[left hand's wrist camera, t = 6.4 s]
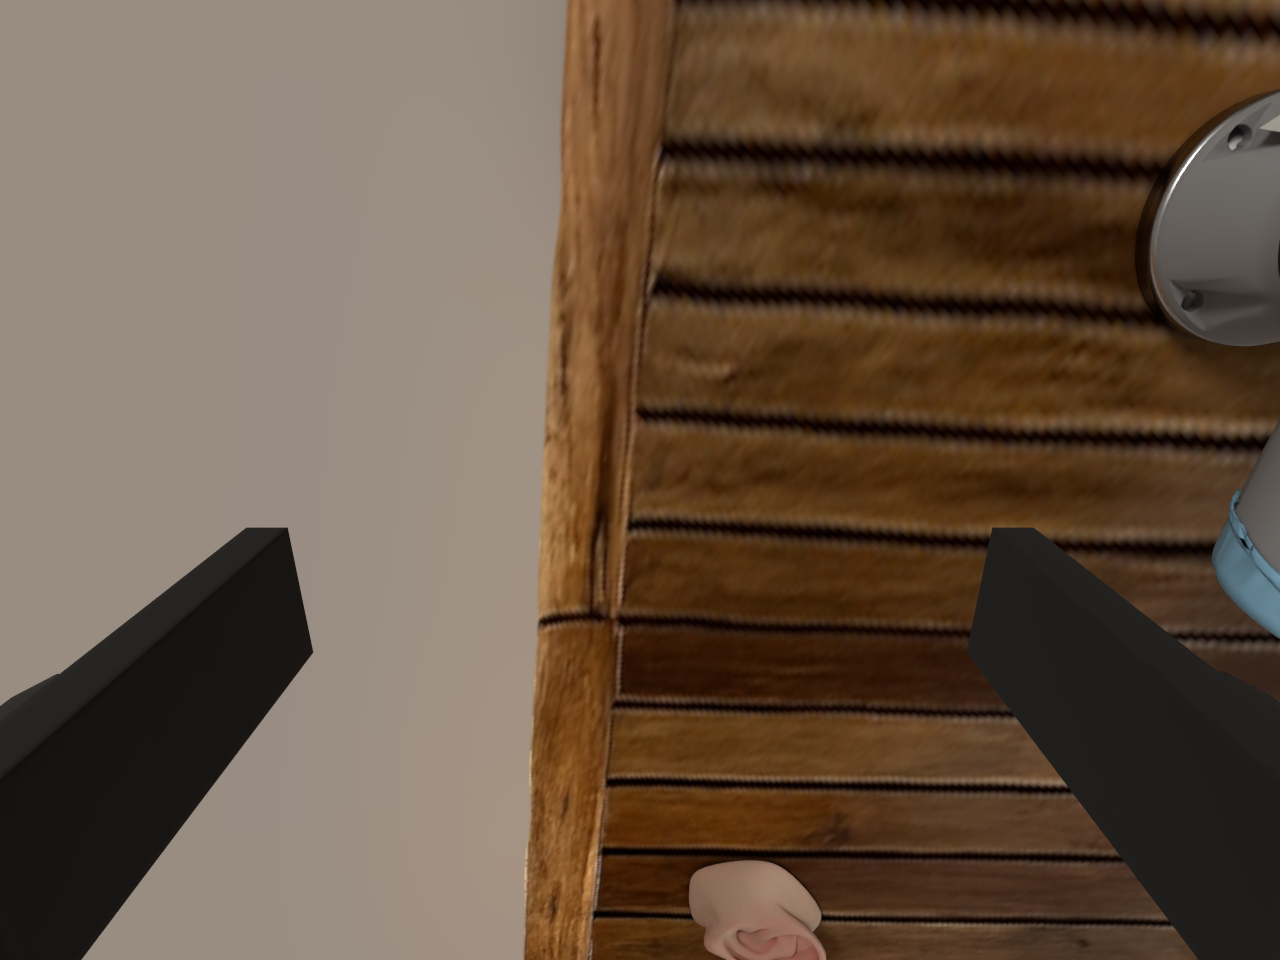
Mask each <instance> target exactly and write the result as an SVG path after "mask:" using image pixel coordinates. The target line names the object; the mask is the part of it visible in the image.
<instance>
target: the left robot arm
mask: <svg viewBox="0 0 1280 960" xmlns="http://www.w3.org/2000/svg"><path fill="white" fill-rule="evenodd" d="M1135 259H1136V270H1137V275H1138V280H1139V283H1140V286H1141V289H1142V292H1143V294H1144V296H1145V298H1146V300H1147V302H1148V304H1149V305H1150V307H1151V308H1152V310H1153V311H1154V312H1155V313H1156V315H1157V316H1158V317H1159V318H1160V319H1161V320H1162V321H1164V322H1165V323H1166V324H1167V325H1169V326H1170V327H1171V328H1173V329H1175V330H1177V331H1178V332H1180V333H1182V334H1185V335H1187V336H1190V337H1193V338H1197V339H1200V340H1205V341H1210V342H1214V343H1219V344H1225V345H1231V346H1256V345H1263V344H1268V343H1274V342H1280V89H1278V90H1273V91H1269V92H1265V93H1262V94H1258V95H1256V96H1253V97H1250V98H1248V99H1245V100H1243V101H1241V102H1239V103H1237V104H1235V105H1233V106H1231V107H1229V108H1228V109H1226V110H1224V111H1222V112H1221V113H1219V114H1218V115H1217V116H1215V117H1214V118H1212V119H1211V120H1209V121H1208V122H1207V123H1206V124H1204V125H1203V126H1202V127H1201V128H1199V129H1198V130H1197V131H1196V132H1195V133H1194V134H1193V135H1192V136H1191V137H1190V138H1189V139H1188V140H1187V141H1186V142H1185V143H1184V144H1183V145H1182V146H1181V147H1180V148H1179V149H1178V150H1177V152H1176V153H1175V154H1174V155H1173V157H1172V158H1171V159H1170V160H1169V162H1168V163H1167V165H1166V166H1165V168H1164V169H1163V171H1162V172H1161V174H1160V175H1159V177H1158V179H1157V180H1156V182H1155V184H1154V186H1153V188H1152V190H1151V192H1150V194H1149V196H1148V198H1147V201H1146V204H1145V206H1144V209H1143V212H1142V215H1141V219H1140V222H1139V227H1138V232H1137V239H1136V256H1135ZM1212 563H1213V566H1214V569H1215V571H1216V578H1217V580H1218V582H1219V584H1220V585H1221V587H1222V588H1223V589H1224V591H1225V592H1226V594H1227V595H1228V596H1229V597H1230V598H1231V599H1232V600H1233V601H1234V602H1235V603H1236V605H1237V606H1239V607H1240V608H1241V609H1242V610H1243V611H1244V612H1245V613H1246V614H1247V615H1249V616H1250V617H1251V618H1252V619H1253V620H1255V621H1256V622H1257V623H1259V624H1260V625H1261V626H1262V627H1264V628H1265V629H1267V630H1268V631H1269V632H1271V633H1272V634H1274V635H1275V636H1277V637H1278V638H1280V419H1279V421H1278V423H1277V425H1276V427H1275V429H1274V431H1273V432H1272V434H1271V436H1270V438H1269V440H1268V442H1267V444H1266V445H1265V447H1264V449H1263V451H1262V453H1261V455H1260V457H1259V458H1258V460H1257V462H1256V464H1255V466H1254V468H1253V470H1252V471H1251V473H1250V475H1249V477H1248V479H1247V481H1246V483H1245V485H1244V486H1243V488H1242V489H1241V490H1238V491H1236V493H1235V494H1234V496H1233V497H1232V499H1231V502H1230V505H1229V516H1228V518H1227V520H1226V523H1225V525H1224V527H1223V529H1222V531H1221V533H1220V535H1219V538H1218V540H1217V542H1216V544H1215V546H1214V549H1213V554H1212ZM312 653H313V649H312V644H311V639H310V634H309V630H308V625H307V620H306V615H305V610H304V605H303V600H302V596H301V591H300V586H299V581H298V576H297V571H296V566H295V561H294V557H293V552H292V547H291V542H290V537H289V532H288V528H245V529H244V530H243V531H242V532H240V533H239V534H238V535H237V536H235V537H234V538H233V539H231V540H230V541H229V542H228V543H226V544H225V545H224V546H222V547H221V548H220V549H219V550H217V551H216V552H215V553H214V554H212V555H211V556H210V557H209V558H207V559H206V560H205V561H203V562H202V563H201V564H200V565H198V566H197V567H196V568H194V569H193V570H192V571H191V572H189V573H188V574H187V575H185V576H184V577H183V578H182V579H180V580H179V581H178V582H177V583H175V584H174V585H173V586H171V587H170V588H169V589H168V590H166V591H165V592H164V593H162V594H161V595H160V596H159V597H157V598H156V599H155V600H154V601H152V602H151V603H150V604H149V605H147V606H146V607H145V608H143V609H142V610H141V611H140V612H138V613H137V614H136V615H134V616H133V617H132V618H131V619H129V620H128V621H127V622H125V623H124V624H123V625H122V626H120V627H119V628H118V629H117V630H115V631H114V632H113V633H111V634H110V635H109V636H108V637H106V638H105V639H104V640H103V641H101V642H100V643H99V644H97V645H96V646H95V647H94V648H92V649H91V650H90V651H88V652H87V653H86V654H85V655H83V656H82V657H81V658H80V659H78V660H77V661H76V662H74V663H73V664H72V665H71V666H69V667H68V668H67V669H66V670H64V671H63V672H62V673H60V674H56V675H54V676H52V677H50V678H48V679H46V680H44V681H42V682H41V683H39V684H37V685H35V686H33V687H31V688H29V689H27V690H25V691H23V692H21V693H19V694H18V695H16V696H14V697H12V698H10V699H9V700H8V701H6V702H5V703H4V704H2V705H1V706H0V960H81V959H82V958H83V957H84V955H85V954H86V953H87V952H88V950H89V949H90V948H91V946H92V945H93V943H94V942H95V941H96V940H97V938H98V937H99V936H100V934H101V933H102V932H103V930H104V929H105V928H106V926H107V925H108V924H109V922H110V921H111V920H112V918H113V917H114V916H115V914H116V913H117V912H118V910H119V909H120V908H121V906H122V905H123V904H124V902H125V901H126V900H127V898H128V897H129V896H130V894H131V893H132V892H133V891H134V889H135V888H136V887H137V885H138V884H139V882H140V881H141V880H142V879H143V877H144V876H145V875H146V873H147V872H148V871H149V869H150V868H151V867H152V865H153V864H154V863H155V861H156V860H157V859H158V857H159V856H160V855H161V853H162V852H163V851H164V849H165V848H166V847H167V845H168V844H169V843H170V841H171V840H172V839H173V838H174V836H175V835H176V834H177V832H178V831H179V830H180V828H181V827H182V826H183V824H184V823H185V822H186V820H187V819H188V818H189V816H190V815H191V814H192V812H193V811H194V810H195V808H196V807H197V806H198V804H199V803H200V802H201V800H202V799H203V798H204V796H205V795H206V794H207V792H208V791H209V790H210V788H211V787H212V786H213V785H214V783H215V782H216V781H217V779H218V778H219V777H220V775H221V774H222V773H223V771H224V770H225V769H226V767H227V766H228V765H229V763H230V762H231V761H232V759H233V758H234V757H235V755H236V754H237V753H238V751H239V750H240V749H241V747H242V746H243V745H244V743H245V742H246V741H247V739H248V738H249V737H250V735H251V734H252V733H253V731H254V730H255V729H256V727H257V726H258V725H259V723H260V722H261V721H262V720H263V718H264V717H265V716H266V714H267V713H268V712H269V710H270V709H271V708H272V706H273V705H274V704H275V702H276V701H277V700H278V698H279V697H280V696H281V694H282V693H283V692H284V690H285V689H286V688H287V686H288V685H289V684H290V682H291V681H292V680H293V678H294V677H295V676H296V674H297V673H298V672H299V671H300V669H301V668H302V667H303V665H304V664H305V663H306V661H307V660H308V658H309V657H310V656H311V655H312ZM967 653H968V655H969V656H970V657H971V659H972V660H973V661H974V663H975V664H976V665H977V667H978V668H979V669H980V671H981V672H982V673H983V675H984V676H985V677H986V678H987V680H988V681H989V682H990V684H991V685H992V686H993V688H994V689H995V690H996V692H997V693H998V694H999V696H1000V697H1001V698H1002V700H1003V701H1004V702H1005V704H1006V705H1007V706H1008V708H1009V709H1010V710H1011V712H1012V713H1013V714H1014V716H1015V717H1016V718H1017V720H1018V721H1019V722H1020V724H1021V725H1022V726H1023V728H1024V729H1025V730H1026V731H1027V733H1028V734H1029V735H1030V737H1031V738H1032V739H1033V741H1034V742H1035V743H1036V745H1037V746H1038V747H1039V749H1040V750H1041V751H1042V753H1043V754H1044V755H1045V757H1046V758H1047V759H1048V761H1049V762H1050V763H1051V765H1052V766H1053V767H1054V769H1055V770H1056V771H1057V773H1058V774H1059V775H1060V777H1061V778H1062V779H1063V781H1064V782H1065V783H1066V785H1067V786H1068V787H1069V788H1070V790H1071V791H1072V792H1073V794H1074V795H1075V796H1076V798H1077V799H1078V800H1079V802H1080V803H1081V804H1082V806H1083V807H1084V808H1085V810H1086V811H1087V812H1088V814H1089V815H1090V816H1091V818H1092V819H1093V820H1094V822H1095V823H1096V824H1097V826H1098V827H1099V828H1100V830H1101V831H1102V832H1103V834H1104V835H1105V836H1106V838H1107V839H1108V840H1109V842H1110V843H1111V844H1112V845H1113V847H1114V848H1115V849H1116V851H1117V852H1118V853H1119V855H1120V856H1121V857H1122V859H1123V860H1124V861H1125V863H1126V864H1127V865H1128V867H1129V868H1130V869H1131V871H1132V872H1133V873H1134V875H1135V876H1136V877H1137V879H1138V880H1139V881H1140V883H1141V884H1142V885H1143V887H1144V888H1145V889H1146V891H1147V892H1148V893H1149V895H1150V896H1151V897H1152V898H1153V900H1154V901H1155V902H1156V904H1157V905H1158V906H1159V908H1160V909H1161V910H1162V912H1163V913H1164V914H1165V916H1166V917H1167V918H1168V920H1169V921H1170V922H1171V924H1172V925H1173V926H1174V928H1175V929H1176V930H1177V932H1178V933H1179V934H1180V936H1181V937H1182V938H1183V940H1184V941H1185V942H1186V944H1187V945H1188V946H1189V948H1190V949H1191V950H1192V952H1193V953H1194V954H1195V955H1196V957H1197V958H1198V959H1199V960H1280V703H1279V702H1278V701H1277V700H1275V699H1274V698H1273V697H1271V696H1270V695H1268V694H1266V693H1264V692H1262V691H1260V690H1259V689H1257V688H1255V687H1253V686H1251V685H1249V684H1247V683H1245V682H1243V681H1241V680H1239V679H1237V678H1235V677H1233V676H1231V675H1230V674H1228V673H1226V672H1217V671H1216V670H1214V669H1213V668H1212V667H1211V666H1209V665H1208V664H1207V663H1206V662H1204V661H1203V660H1202V659H1200V658H1199V657H1198V656H1197V655H1195V654H1194V653H1193V652H1192V651H1190V650H1189V649H1188V648H1186V647H1185V646H1184V645H1183V644H1181V643H1180V642H1179V641H1177V640H1176V639H1175V638H1174V637H1172V636H1171V635H1170V634H1169V633H1167V632H1166V631H1165V630H1163V629H1162V628H1161V627H1160V626H1158V625H1157V624H1156V623H1155V622H1153V621H1152V620H1151V619H1149V618H1148V617H1147V616H1146V615H1144V614H1143V613H1142V612H1140V611H1139V610H1138V609H1137V608H1135V607H1134V606H1133V605H1132V604H1130V603H1129V602H1128V601H1126V600H1125V599H1124V598H1123V597H1121V596H1120V595H1119V594H1118V593H1116V592H1115V591H1114V590H1112V589H1111V588H1110V587H1109V586H1107V585H1106V584H1105V583H1103V582H1102V581H1101V580H1100V579H1098V578H1097V577H1096V576H1095V575H1093V574H1092V573H1091V572H1089V571H1088V570H1087V569H1086V568H1084V567H1083V566H1082V565H1081V564H1079V563H1078V562H1077V561H1075V560H1074V559H1073V558H1072V557H1070V556H1069V555H1068V554H1066V553H1065V552H1064V551H1063V550H1061V549H1060V548H1059V547H1058V546H1056V545H1055V544H1054V543H1052V542H1051V541H1050V540H1049V539H1047V538H1046V537H1045V536H1044V535H1042V534H1041V533H1040V532H1038V531H1037V530H1036V529H1035V528H992V532H991V537H990V542H989V547H988V552H987V557H986V561H985V566H984V571H983V576H982V581H981V586H980V591H979V596H978V600H977V605H976V610H975V615H974V620H973V625H972V630H971V634H970V639H969V644H968V649H967Z"/></svg>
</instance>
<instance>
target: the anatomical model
mask: <svg viewBox="0 0 1280 960" xmlns="http://www.w3.org/2000/svg"><path fill="white" fill-rule="evenodd" d="M689 904H690V909H691V914H692V916H693V918H694V920H695V921H696V922H697V923H698V924H700V925H701V926H703V927H705V928H706V932H705V936H704V944H705V947H706V949H707V950H708V951H710V952H711V953H713V954H715V955H718V956H720V957H722V958H724V959H726V960H826V953H825V950H824V947H823V946H822V944H821V942H820V941H819V939H818V938H817V937H816V935H815V934H814V933H813V931H814V930H815V929H816V928H817V926H818V925H819V923H820V921H821V912H820V909H819V907H818V905H817V904H816V902H815V900H814V899H813V898H812V896H811V895H810V894H809V893H808V891H807V890H806V889H805V888H804V887H803V886H802V885H801V884H800V883H799V881H798V880H796V879H795V878H794V877H793V876H792V875H791V874H790V873H789V872H787V871H786V870H785V869H783V868H782V867H780V866H778V865H776V864H773V863H770V862H766V861H758V860H743V861H733V862H726V863H720V864H715V865H711V866H707V867H704V868H702V869H699V870H698V871H696V872H695V873H694V874H693V876H692V877H691V880H690V886H689Z"/></svg>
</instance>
